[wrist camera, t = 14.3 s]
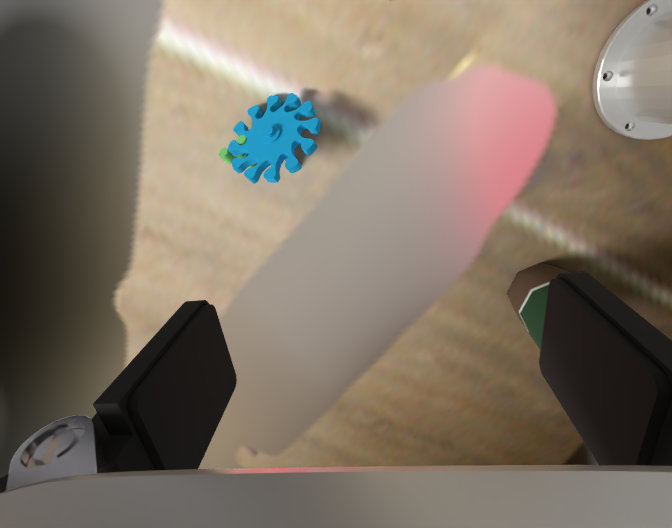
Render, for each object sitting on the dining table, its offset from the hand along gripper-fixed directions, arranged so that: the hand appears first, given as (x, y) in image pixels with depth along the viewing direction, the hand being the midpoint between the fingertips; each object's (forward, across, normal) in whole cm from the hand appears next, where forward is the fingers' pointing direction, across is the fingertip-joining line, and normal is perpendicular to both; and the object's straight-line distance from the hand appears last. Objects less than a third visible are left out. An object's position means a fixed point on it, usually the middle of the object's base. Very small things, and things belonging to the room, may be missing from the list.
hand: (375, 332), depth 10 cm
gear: (+33, +10, -4) cm, 34 cm away
